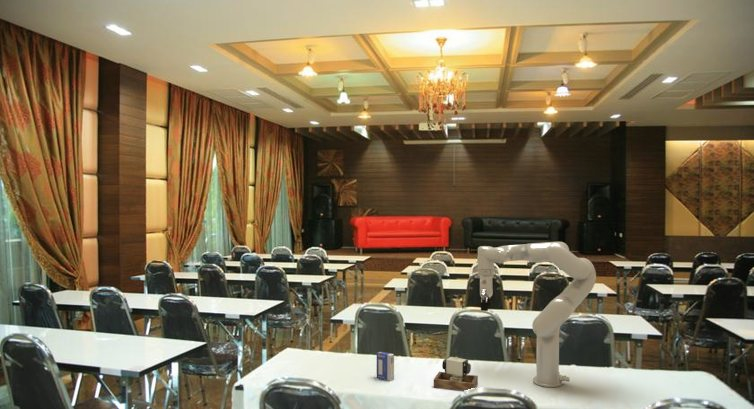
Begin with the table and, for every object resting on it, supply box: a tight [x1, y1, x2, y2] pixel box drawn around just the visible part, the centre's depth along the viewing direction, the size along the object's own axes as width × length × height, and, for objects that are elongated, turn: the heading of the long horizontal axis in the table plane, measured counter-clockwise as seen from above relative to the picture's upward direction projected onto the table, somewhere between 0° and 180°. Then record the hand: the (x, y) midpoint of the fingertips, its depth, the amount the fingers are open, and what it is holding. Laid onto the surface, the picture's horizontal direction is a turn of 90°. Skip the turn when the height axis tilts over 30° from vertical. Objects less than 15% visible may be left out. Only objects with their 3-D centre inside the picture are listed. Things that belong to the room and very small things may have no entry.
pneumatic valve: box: [441, 356, 472, 382], centre depth 234 cm, size 6×12×12 cm, turn 58°
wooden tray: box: [433, 371, 479, 392], centre depth 234 cm, size 17×11×4 cm, turn 71°
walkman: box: [376, 351, 395, 382], centre depth 242 cm, size 8×3×12 cm, turn 57°
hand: (485, 308), depth 251 cm, fingers open, 9 cm apart
